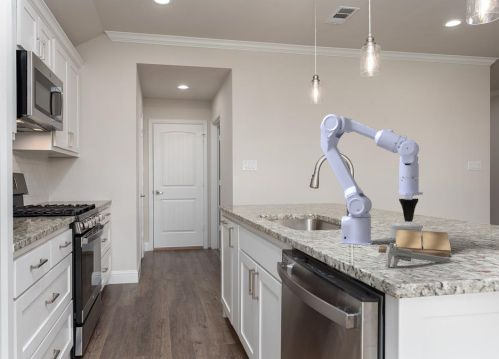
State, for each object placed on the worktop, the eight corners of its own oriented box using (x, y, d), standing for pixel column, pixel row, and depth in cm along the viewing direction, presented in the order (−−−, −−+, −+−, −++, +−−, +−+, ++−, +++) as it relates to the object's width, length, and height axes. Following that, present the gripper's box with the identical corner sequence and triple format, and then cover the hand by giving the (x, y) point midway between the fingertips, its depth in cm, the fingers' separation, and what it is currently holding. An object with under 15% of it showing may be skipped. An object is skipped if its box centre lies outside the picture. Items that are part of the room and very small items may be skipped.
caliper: (388, 269, 92) (388, 243, 92) (385, 268, 93) (385, 242, 93) (454, 263, 98) (454, 239, 98) (450, 262, 99) (450, 238, 99)
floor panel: (378, 252, 110) (378, 248, 110) (379, 250, 114) (379, 246, 114) (448, 258, 104) (448, 253, 104) (447, 255, 107) (447, 250, 107)
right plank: (423, 252, 110) (423, 248, 110) (422, 234, 120) (422, 230, 120) (450, 254, 108) (450, 250, 107) (447, 235, 117) (447, 232, 117)
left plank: (395, 250, 113) (395, 246, 113) (396, 233, 123) (396, 229, 122) (421, 252, 111) (421, 248, 110) (420, 234, 120) (420, 230, 120)
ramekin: (381, 237, 139) (381, 223, 139) (403, 235, 144) (403, 221, 144) (406, 242, 129) (407, 226, 129) (429, 240, 134) (429, 225, 134)
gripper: (423, 178, 111) (423, 224, 112) (421, 178, 125) (421, 219, 125) (397, 178, 114) (397, 223, 114) (398, 178, 128) (398, 218, 128)
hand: (408, 221), depth 120 cm, fingers closed
